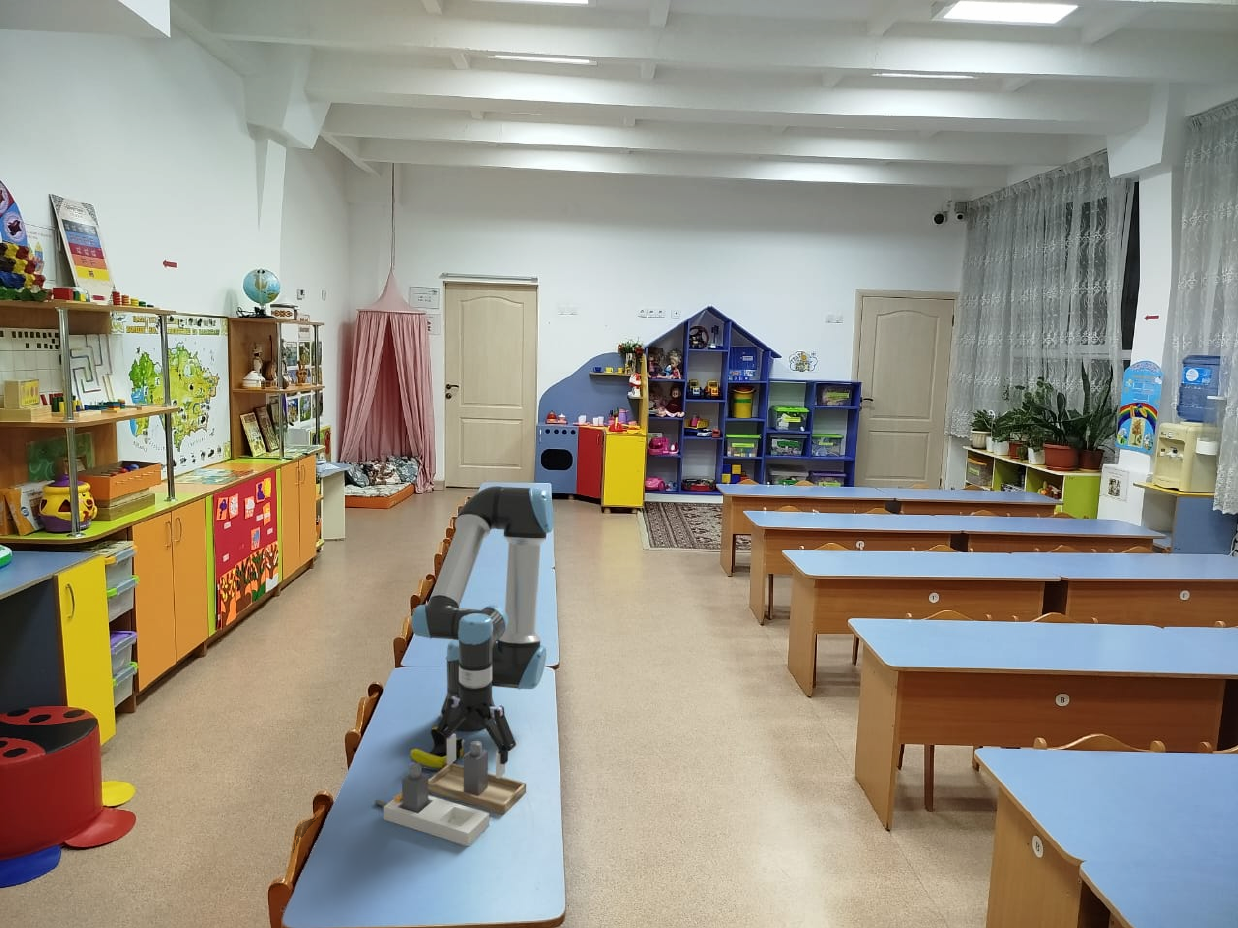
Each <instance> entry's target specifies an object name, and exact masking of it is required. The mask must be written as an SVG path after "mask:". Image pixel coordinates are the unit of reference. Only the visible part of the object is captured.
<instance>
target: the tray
mask: <svg viewBox="0 0 1238 928" xmlns="http://www.w3.org/2000/svg"><path fill="white" fill-rule="evenodd" d="M526 793H527V783H526V782H522V781H520V780H516V779H511V778H507V777H504V776H501V777H500V778H499V779H498V778H496V774H493V773H489V772H488V788H486V789H485V790H484V791H483V792H482V793H481V794H480V795H479V796H477V795H474V794H470V793H467V792H464V765H461V764H457V763H455V764H454V763H452V764H450V765H447V766H445V767H444V768H443V769H442V770H440V771H437V773H436V774H434V775H432V777H431V778H428V794H432V795H437V796H440V797H443V798H447V799H449V800H453V801H456V802H460V803H463V804H467V805H470V806H474V807H477V808H481V809H483V810H487V811H491V812H493V813H496V814H500V815H505V814H506V813H507V812H508V811H509V810H510V809H511V808H512V807H513V806H514V805H515V804H516V803H517V802H518V801H519V800H520V799H521V798H522V797H523V796H524V795H525V794H526Z"/></svg>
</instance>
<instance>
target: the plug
mask: <svg viewBox="0 0 1238 928" xmlns="http://www.w3.org/2000/svg"><path fill="white" fill-rule="evenodd" d="M488 753H489V751H487V750H484V749H482V742H481V741H479V740H473V741H471V742H470V743H469V750H468V751H467V752H466V753H465V754H463V766H464V792H467V793H470V794H474V795H477V796H479V795H480V794H481V793H482V792H483V791H484V790H485V789H486V788H488V773H489V771H488V770H489V758H488V757H489V754H488Z"/></svg>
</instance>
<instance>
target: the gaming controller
mask: <svg viewBox="0 0 1238 928" xmlns="http://www.w3.org/2000/svg"><path fill="white" fill-rule="evenodd" d="M437 727H438V726H435V727H433V728H431V730H430V736H431V740H432V743H433V748H432V749H431V750H430V751H429V752H425V751H423V750H421V749H417V748H414V749H412V750H411V751H410V759H411V761H412V763H419V764H421V768H424V769H427V770H433V771H436V772H439V771H440V770H442V769H443V768H444V767H445V766H447V749H445V748H444V736H443V734H442V733H437V731H436V730H437ZM465 741H466V740H465V739H463V738H461V737H459V738H456V760H455V761H454V762H453V763H454V764H457V762H458V760H459V759H460V758H461V757H462V756H463V757H464V744H465Z"/></svg>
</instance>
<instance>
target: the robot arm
mask: <svg viewBox="0 0 1238 928" xmlns="http://www.w3.org/2000/svg"><path fill="white" fill-rule="evenodd" d="M554 511H555V509H554V504H553V499H552V497H551V495H550V494H549V492H548V491H547V490H545V489H540V488H533V487H531V488H530V487H528V488H527V487H512V486H511V487H510V486H509V487H508V486H497V485H496V486H489V487H487V488H486V487H485V488H484V489H482V490H480V491H478V492H476V493H475V494H474V495H472V496H471V497H470V498H469V499H468V500H467V501H466V502H465V504H464V505H463V506H462V507H461V509H460V511H459V512H458V514H457V517H456V519H455V521H454V527H455V532H454V535H453V537H452V540H451V542H450V546H449V548H448V551H447V553H446V555H445V558H444V561H443V563H442V565H441V569H440V571H439V574H438V577H437V579H436V583H435V585H434V588H433V591H432V593H431V596H430V597H429V601H428V603H427V604H419V605H417V606H416V607H415V608H414V610H413V612H412V616H411V630H412V632H413V634H414V635H415V636H416V637H420V638H429V639H440V640H441V639H443V640H450V642H449V643H448V645H447V649H446V657H445V661H446V695H445V698H444V700H443V704H442V707H441V711H440V721H439V723H438V727H437V726H436V727H437V730H436V731H437V733H442V734H443V736H444V748H445V749H447V765H450V764H452V763H453V762H454V761H455V760H456V739H457V734H456V733H455V731H462V732H463V731H466V732H467V731H468V732H469V731H475V730H480V729H483V728H484V729H485V730H486V731H487V733H488V735H489V736H490V738H491V739H492V741H493V743H494V744H495V746H496V747H497V750H496V751H495V775H496V778H498V779H499V778H500V777H503V776H504V775H505V773H506V764H507V763H508V761H509V752H510V751H512V750H513V749H514V748H515V747H516V746H517V742H516V740H515V737H514V735H513V733H512V730H511V727H510V725H509V723H508V721H507V718H506V715H505V707H504V706H503V705H499V706H496V705H495V701H494V699H493V687H496V688H506V689H516V690H518V691H519V690H533V689H535V688H537V686H538V685H539V684H540V682H541V679H542V677H543V673H544V670H545V666H546V661H547V648H546V647H545V646H544V645H541V637H540V636H539V635H538V633H537V632H536V628H537V627H536V624H537V610H538V609H537V607H538V605H537V604H538V590H539V589H538V588H539V572H540V571H539V570H540V559H541V558H540V555H541V554H540V553H541V545H542V543H544V541H546V540H547V534H549V533H551V532H552V531H553V529H554V522H555V516H554V515H555V514H554ZM492 530H502V531H503V538H504V540H506V541H507V543H508V547H507V566H506V567H507V568H506V569H507V571H506V582H505V583H506V585H505V601H504V602H505V603H504V608H502V607H501V606H498V605H496V604H494V605H491V604H490V605H488V606H485V607H483V608H482V609H475V608H461V603H462V600H463V598H464V595H465V593H466V590H467V586H468V583H469V581H470V579H471V576H472V572H473V570H474V566H475V564H476V561H477V558H478V555H479V553H480V551H481V550H480V549H481V546H482V545H483V541H484V539H486V538H487V537H489V536H490V535H489V534H490V532H491V531H492Z"/></svg>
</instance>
